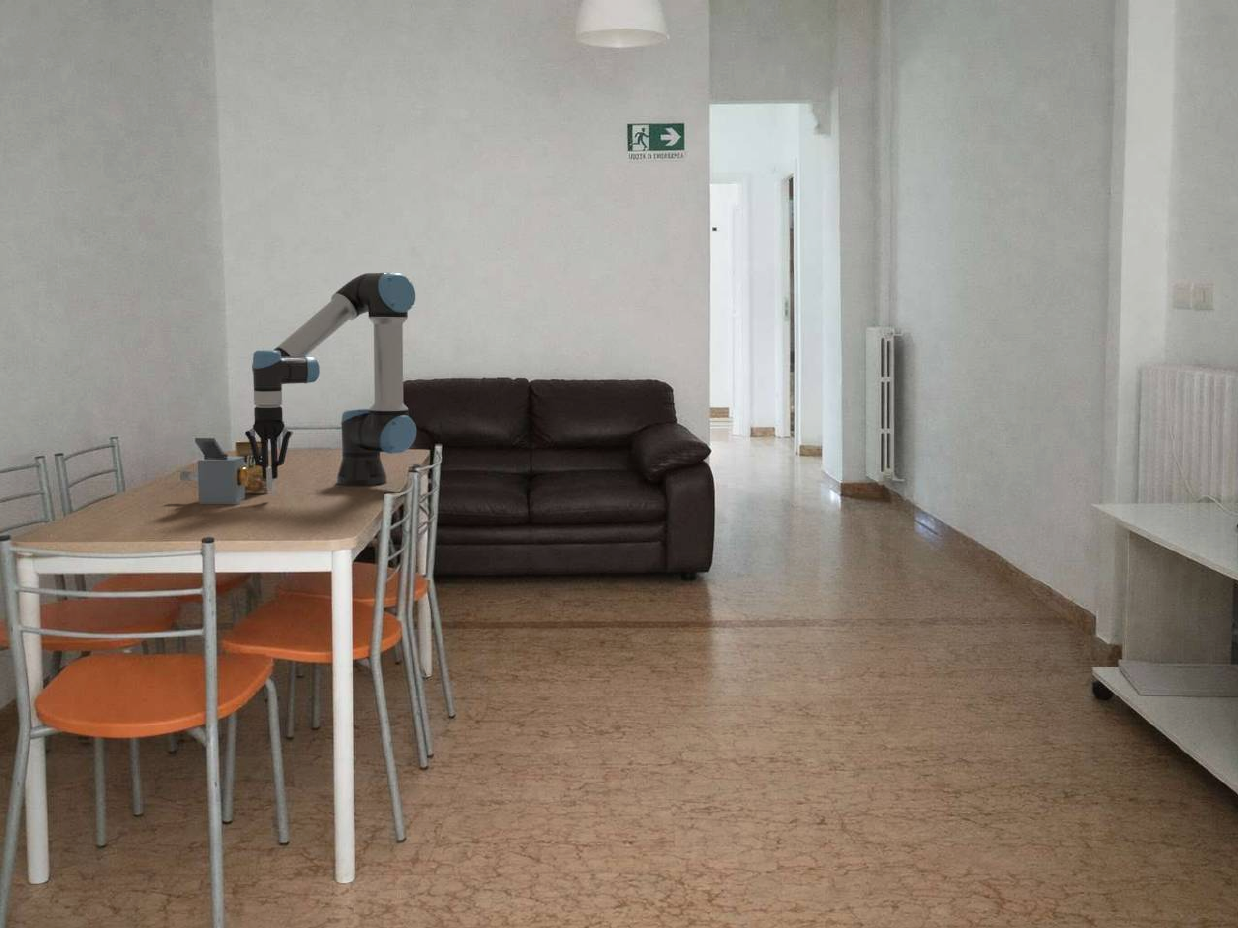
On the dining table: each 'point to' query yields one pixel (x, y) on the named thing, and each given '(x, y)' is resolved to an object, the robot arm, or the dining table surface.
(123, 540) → the dining table surface
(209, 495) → the block
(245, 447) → the candy box
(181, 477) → the pin
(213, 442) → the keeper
